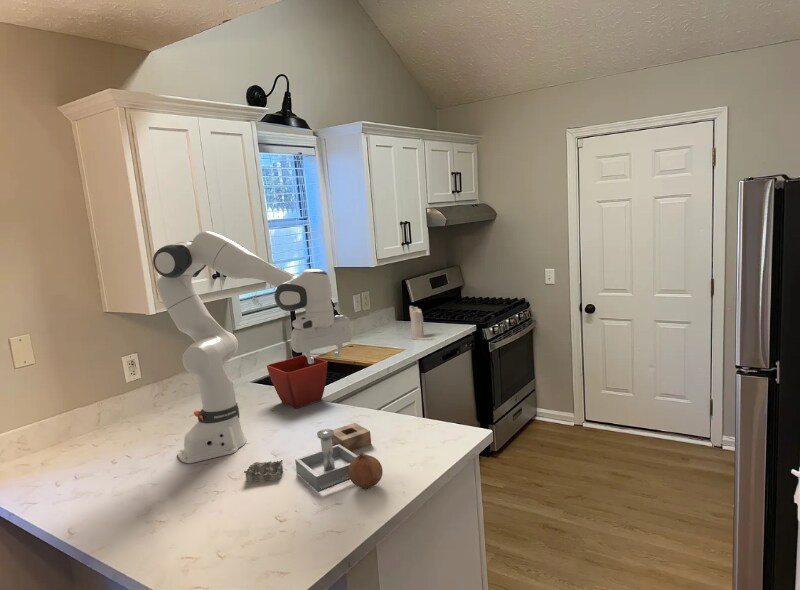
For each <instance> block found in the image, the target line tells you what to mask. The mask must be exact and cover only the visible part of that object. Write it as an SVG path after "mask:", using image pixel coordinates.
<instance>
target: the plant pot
mask: <svg viewBox="0 0 800 590" xmlns="http://www.w3.org/2000/svg"><path fill="white" fill-rule="evenodd" d="M309 356H310V357H312V358H314V363H312V364H309V363H308V359H307V357H306V356H305V355H304V354H303V355H298V356H295V357H292V358H288V359H283V360H281V361H277V362H273V363H270V364H269V363H268V364H267V365H266V369H267V371H268V374H269V378H270V380H271V383H272V385H273V387H274V389H275V392H276V394H277V396H278V398H279V399H280V401H281V403H283V404H284V405H287V406H289V407H290V408H293V409H300V408H302V407H306V406H308V405H312V404H313V403H318V402H320V401H322V399H323V396H324V392H325V389H326V388H325V387H326V382H327V374H328V360H324V359H321V358H318V357H315V356H311V355H309Z"/></svg>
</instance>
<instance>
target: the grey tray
mask: <svg viewBox="0 0 800 590" xmlns="http://www.w3.org/2000/svg"><path fill="white" fill-rule="evenodd" d="M332 447H333V456H334V458H335V457H338V456H339V457H341V458H343V459H344V460H345V461H347V462H348V463H345V464H344V465H340V466H338V467H335V468H334V469H332V470H329V471H324V472H320V473H317V472H316V471H315V470H313V469H312V468H311V467H310V466H312V465H315V464H318V463H322V462H323V456H322V449H320V450H318V451H314V452H313V453H309V454H307V455H303V456H300V457H298V458H295V459H294V461H295V462H294V463H295V470H296V474H297V475H298V477H300V478H301V479H303V480H304V481H305V482H306V483H307V484H308V485H309V486H310V487H312V488H313V489H314V490H315V491H316V492H317V493H319V492H322V491H325V490H327V489H330V488H332V487H336V486H338V485H340V484H342V483H345V482H348V481H351V480H350V478H349V474H348V469H349V465H350V463H351V461H352V460H353V459H354V458H355V457H357V456H358V455H357V454H356V453H354V452H353V451H352V452H351V451H349V450H348V449H346V448H345V447H343V446H342V445H340V444H338V445H335V446H332ZM345 477H347V478H346V479H345ZM343 478H344V479H343ZM340 479H343V480H341V481H338V482H336V483H333V484H330V483H332V482H335V481H337V480H340ZM328 484H330V485H328ZM324 485H327V486H325V487H322V486H324ZM321 487H322V488H321Z"/></svg>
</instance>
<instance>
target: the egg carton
mask: <svg viewBox="0 0 800 590" xmlns="http://www.w3.org/2000/svg"><path fill="white" fill-rule="evenodd" d="M283 461H284V460H283V459H281V460H279V461H278V460H276V461H268V462H267V461H264V462H260V461H258V462H257V461H255V462H254V463H252V464H250V465H249V467H248V468H247V470H244V472H243V473H244V474H245V481H246V482H247V483H249V484H253V483H255V482H258V481H259V482H260V483H263V482H264V483H265V482H266V481H268V480H269V481H271V482H276V481H277V480H279V479H281V477H282V475H281V474H283V473H284V468H283ZM264 473H265V474H264Z"/></svg>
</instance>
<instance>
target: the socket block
mask: <svg viewBox="0 0 800 590" xmlns="http://www.w3.org/2000/svg"><path fill="white" fill-rule="evenodd" d="M332 430H333V431H334V436H332V437H331V438H332V446H335V445H338V444H340V445H342V446H343V447H345V448H346V449H348V450H349V451H351V452H352V453H353V452H354V451H357V450H360V449H363V448H365V447H368V446H371V445H372V437H371V431H370V430H369V429H368V428H365V427H363V426H362V425H360V424H358V423H356V422H353V423H350V424H346V425H344V426H342V427H338V428H334V429H332Z"/></svg>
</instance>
